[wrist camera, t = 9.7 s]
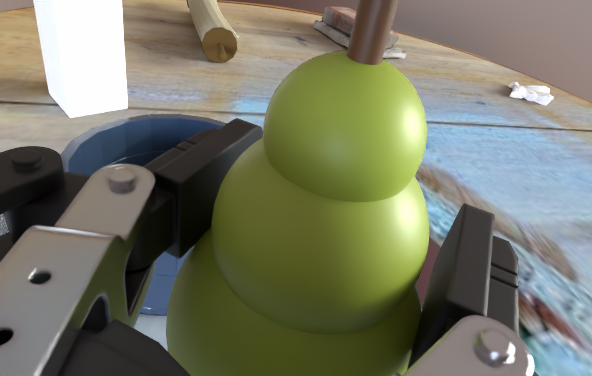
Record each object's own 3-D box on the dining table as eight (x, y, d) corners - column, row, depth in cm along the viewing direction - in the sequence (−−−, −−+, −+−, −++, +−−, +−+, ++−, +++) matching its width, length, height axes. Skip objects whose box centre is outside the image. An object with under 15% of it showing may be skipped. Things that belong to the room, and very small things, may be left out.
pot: (291, 210, 36) (305, 145, 33) (229, 345, 25) (240, 268, 21) (141, 165, 38) (138, 98, 34) (18, 273, 26) (-6, 189, 23)
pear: (386, 336, 15) (552, -10, 9) (366, 557, 10) (748, 101, 3) (219, 282, 16) (255, -76, 9) (119, 461, 11) (40, -67, 4)
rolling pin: (184, 8, 82) (185, -20, 79) (213, 11, 84) (215, -17, 81) (201, 71, 58) (203, 34, 55) (241, 74, 59) (245, 38, 57)
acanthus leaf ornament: (546, 95, 77) (551, 86, 76) (554, 109, 71) (560, 99, 70) (504, 84, 78) (509, 74, 77) (509, 96, 72) (514, 86, 71)
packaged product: (316, 3, 84) (355, 5, 89) (311, 28, 86) (349, 29, 91) (372, 32, 72) (414, 33, 77) (364, 60, 75) (405, 59, 80)
